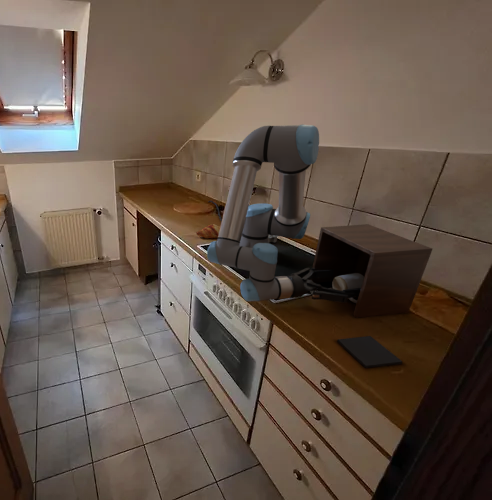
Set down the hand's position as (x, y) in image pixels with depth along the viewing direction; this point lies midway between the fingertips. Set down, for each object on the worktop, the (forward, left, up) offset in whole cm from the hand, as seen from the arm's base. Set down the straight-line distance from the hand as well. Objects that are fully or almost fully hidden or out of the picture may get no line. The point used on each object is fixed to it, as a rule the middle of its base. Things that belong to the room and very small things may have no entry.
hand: (346, 282), depth 102 cm
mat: (+26, -13, -6) cm, 30 cm away
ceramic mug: (0, +3, -6) cm, 7 cm away
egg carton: (-57, +2, -6) cm, 57 cm away
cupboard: (0, +4, -6) cm, 7 cm away
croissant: (-67, -23, -6) cm, 71 cm away
